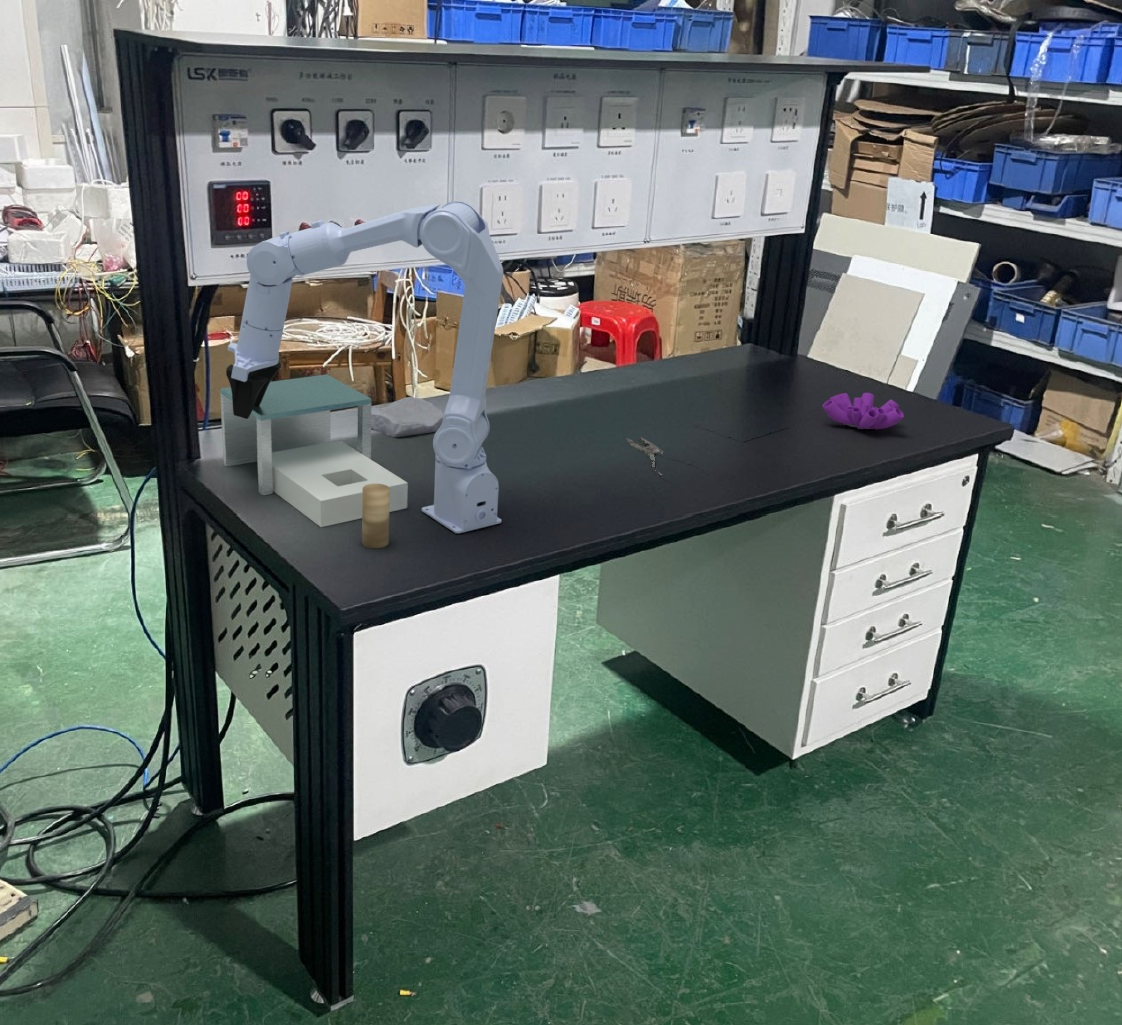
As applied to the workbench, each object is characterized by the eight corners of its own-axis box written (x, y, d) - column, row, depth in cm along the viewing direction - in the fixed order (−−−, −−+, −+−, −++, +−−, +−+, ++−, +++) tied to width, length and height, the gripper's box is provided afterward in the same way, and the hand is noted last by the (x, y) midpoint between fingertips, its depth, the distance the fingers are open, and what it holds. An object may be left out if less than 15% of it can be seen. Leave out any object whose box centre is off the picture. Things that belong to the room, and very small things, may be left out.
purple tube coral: (829, 432, 222) (849, 391, 223) (898, 453, 213) (919, 410, 214) (812, 408, 213) (833, 365, 214) (883, 429, 204) (905, 384, 205)
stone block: (448, 437, 198) (411, 412, 202) (453, 414, 195) (414, 389, 200) (399, 454, 189) (361, 428, 194) (403, 430, 187) (364, 404, 191)
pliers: (676, 482, 179) (597, 443, 193) (675, 487, 180) (597, 448, 194) (718, 472, 185) (639, 435, 199) (717, 477, 185) (638, 440, 199)
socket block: (407, 508, 163) (407, 482, 161) (320, 527, 154) (320, 500, 153) (340, 464, 176) (340, 440, 175) (258, 479, 168) (257, 454, 166)
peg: (393, 544, 151) (394, 490, 148) (370, 550, 149) (371, 495, 145) (380, 535, 153) (381, 481, 150) (357, 540, 151) (357, 486, 148)
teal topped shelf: (370, 474, 173) (371, 398, 169) (263, 495, 163) (260, 415, 158) (327, 446, 183) (327, 374, 178) (223, 464, 172) (220, 388, 167)
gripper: (251, 302, 160) (235, 388, 166) (216, 327, 147) (200, 419, 153) (298, 317, 161) (281, 402, 166) (268, 343, 148) (250, 434, 153)
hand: (245, 411), depth 160 cm, fingers open, 4 cm apart
